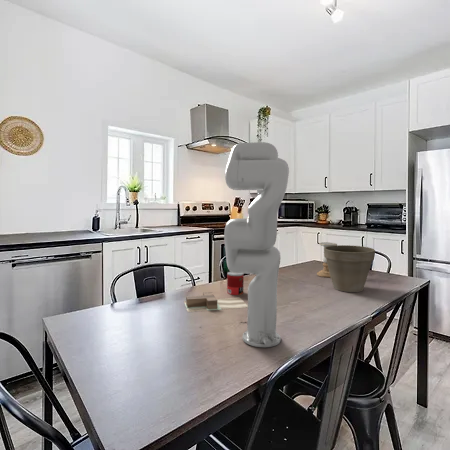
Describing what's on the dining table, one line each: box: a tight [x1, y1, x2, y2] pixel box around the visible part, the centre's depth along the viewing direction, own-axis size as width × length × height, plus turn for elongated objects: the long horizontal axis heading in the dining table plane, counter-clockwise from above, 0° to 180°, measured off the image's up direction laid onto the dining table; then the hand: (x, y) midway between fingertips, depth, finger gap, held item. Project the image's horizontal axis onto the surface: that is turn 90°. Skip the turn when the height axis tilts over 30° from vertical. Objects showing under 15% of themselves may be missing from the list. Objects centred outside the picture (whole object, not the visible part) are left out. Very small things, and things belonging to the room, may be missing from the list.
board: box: [183, 297, 248, 313], centre depth 137 cm, size 14×26×1 cm, turn 104°
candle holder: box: [316, 241, 338, 279], centre depth 196 cm, size 12×12×20 cm
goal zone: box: [184, 303, 223, 312], centre depth 136 cm, size 14×14×1 cm
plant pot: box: [323, 244, 376, 293], centre depth 167 cm, size 25×25×22 cm
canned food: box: [226, 271, 245, 296], centre depth 155 cm, size 8×8×11 cm
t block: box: [185, 292, 218, 309], centre depth 136 cm, size 12×12×4 cm
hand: (265, 241), depth 133 cm, fingers closed
